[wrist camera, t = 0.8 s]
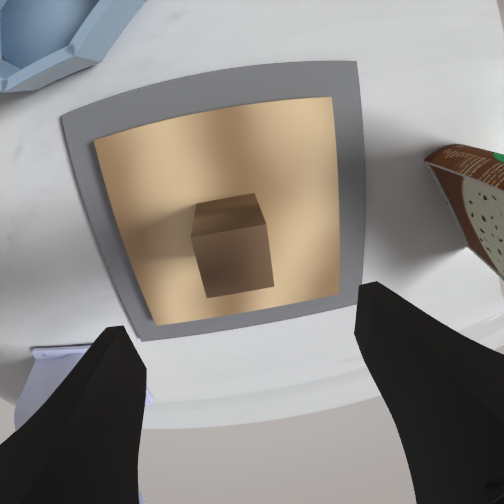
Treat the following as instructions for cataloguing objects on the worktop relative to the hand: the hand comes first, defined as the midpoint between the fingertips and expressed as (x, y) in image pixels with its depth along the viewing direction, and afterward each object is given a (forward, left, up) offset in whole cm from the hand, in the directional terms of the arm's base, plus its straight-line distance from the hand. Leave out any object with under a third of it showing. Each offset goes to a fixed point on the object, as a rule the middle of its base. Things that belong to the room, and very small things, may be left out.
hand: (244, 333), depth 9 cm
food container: (+18, 0, -10) cm, 20 cm away
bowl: (-7, +15, -9) cm, 19 cm away
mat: (0, 0, -9) cm, 9 cm away
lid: (0, 0, -9) cm, 9 cm away
